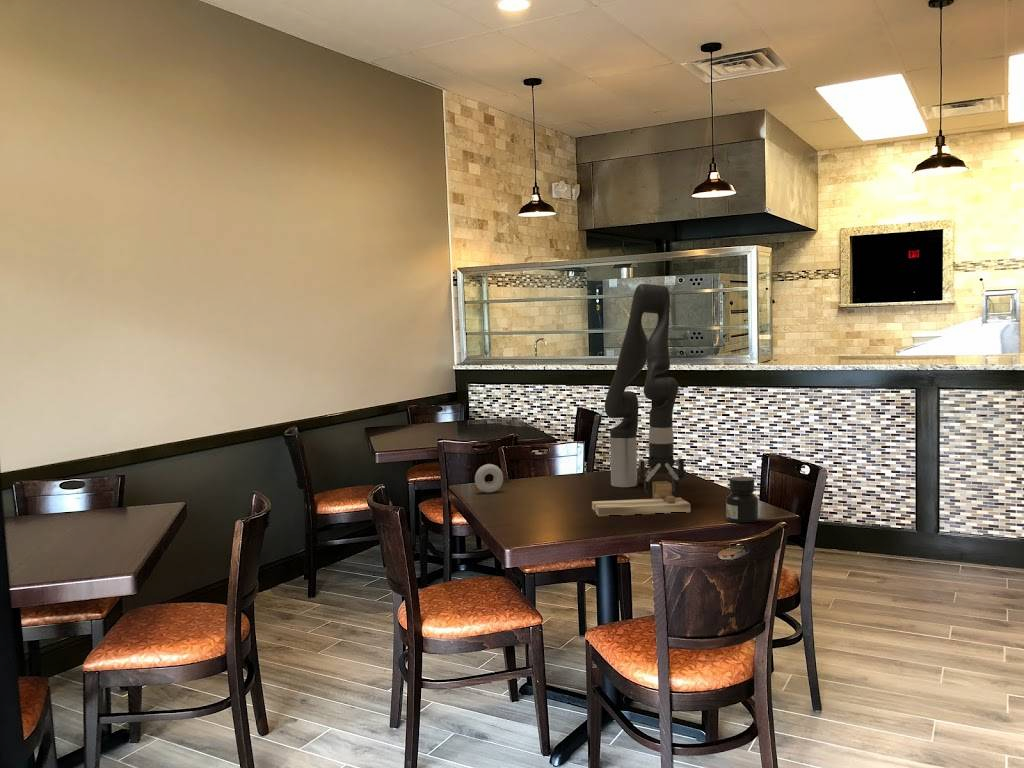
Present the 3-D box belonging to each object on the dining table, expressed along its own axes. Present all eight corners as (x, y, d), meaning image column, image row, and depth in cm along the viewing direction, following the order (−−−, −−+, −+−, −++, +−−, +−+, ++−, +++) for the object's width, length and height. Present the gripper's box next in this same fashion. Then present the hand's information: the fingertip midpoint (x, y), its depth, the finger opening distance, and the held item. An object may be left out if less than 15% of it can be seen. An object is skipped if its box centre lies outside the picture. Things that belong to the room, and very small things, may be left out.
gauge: (651, 503, 272) (651, 481, 271) (667, 502, 272) (667, 480, 272) (663, 512, 258) (663, 489, 258) (680, 511, 259) (679, 488, 258)
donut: (476, 494, 292) (475, 465, 291) (474, 492, 295) (473, 464, 294) (504, 492, 294) (504, 463, 294) (502, 490, 298) (501, 462, 297)
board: (592, 509, 264) (591, 501, 264) (680, 505, 267) (680, 497, 267) (598, 516, 254) (598, 508, 254) (690, 512, 257) (690, 503, 257)
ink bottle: (725, 516, 251) (724, 475, 250) (756, 516, 249) (756, 475, 249) (727, 523, 241) (727, 481, 240) (760, 524, 240) (759, 482, 239)
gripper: (679, 438, 272) (679, 489, 273) (635, 440, 271) (636, 490, 272) (686, 442, 265) (686, 493, 266) (641, 443, 263) (642, 495, 264)
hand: (661, 492), depth 269 cm, fingers open, 8 cm apart
